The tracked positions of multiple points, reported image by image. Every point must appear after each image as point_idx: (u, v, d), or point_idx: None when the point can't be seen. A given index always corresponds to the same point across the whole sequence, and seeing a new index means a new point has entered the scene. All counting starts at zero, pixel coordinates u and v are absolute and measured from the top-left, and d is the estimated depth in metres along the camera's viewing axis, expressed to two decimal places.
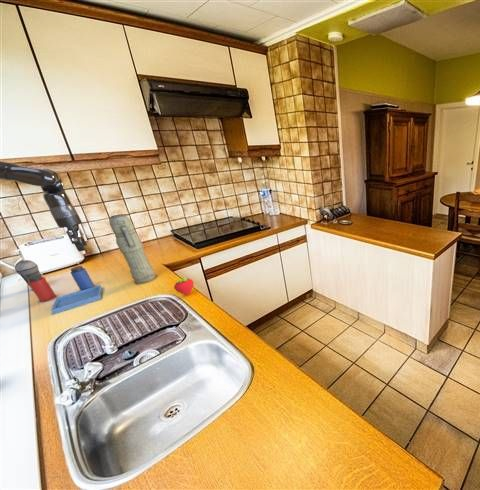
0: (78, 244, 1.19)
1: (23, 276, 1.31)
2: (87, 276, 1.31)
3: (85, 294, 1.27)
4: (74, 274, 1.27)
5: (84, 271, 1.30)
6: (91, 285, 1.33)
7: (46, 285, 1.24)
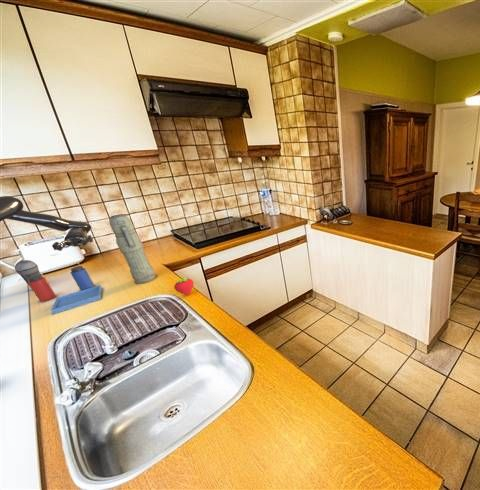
0: (86, 241, 1.38)
1: (23, 276, 1.31)
2: (87, 276, 1.31)
3: (85, 294, 1.27)
4: (74, 274, 1.27)
5: (84, 271, 1.30)
6: (91, 285, 1.33)
7: (46, 285, 1.24)
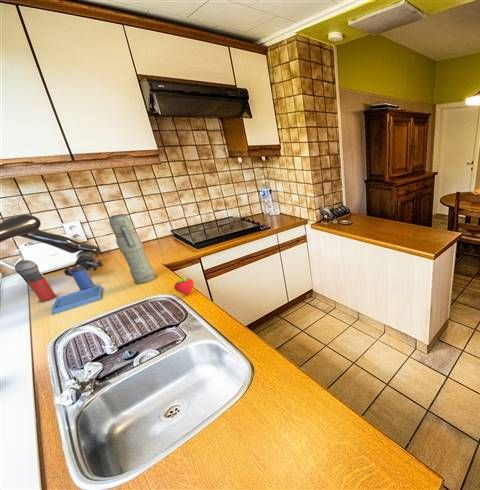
0: (97, 266, 1.41)
1: (23, 276, 1.31)
2: (87, 276, 1.31)
3: (85, 294, 1.27)
4: (74, 274, 1.27)
5: (84, 271, 1.30)
6: (91, 285, 1.33)
7: (46, 285, 1.24)
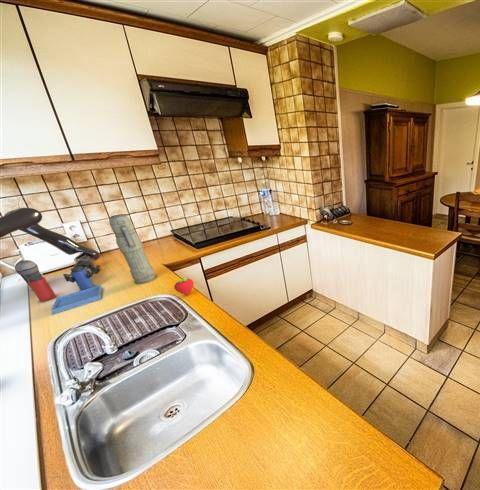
0: (92, 273, 1.33)
1: (23, 276, 1.31)
2: (87, 276, 1.31)
3: (85, 294, 1.27)
4: (74, 274, 1.27)
5: (84, 271, 1.30)
6: (91, 285, 1.33)
7: (46, 285, 1.24)
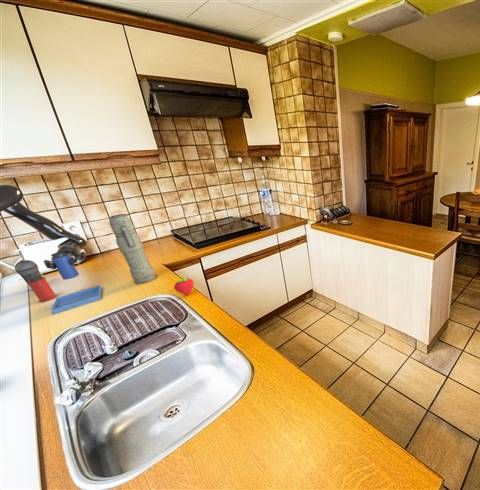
0: (75, 260, 1.23)
1: (23, 276, 1.31)
2: (70, 263, 1.20)
3: (85, 294, 1.27)
4: (55, 260, 1.16)
5: (66, 257, 1.19)
6: (74, 273, 1.22)
7: (46, 285, 1.24)
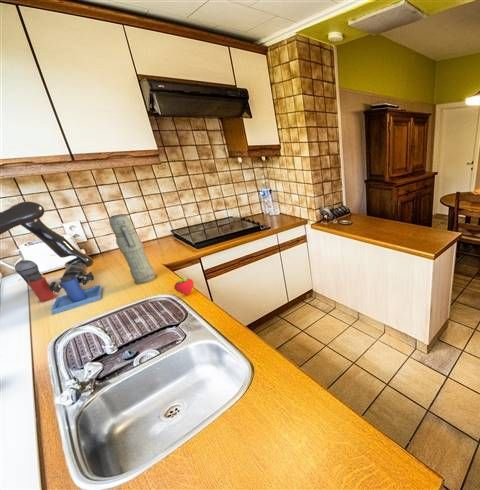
0: (87, 280, 1.25)
1: (23, 276, 1.31)
2: (78, 286, 1.21)
3: None
4: (64, 284, 1.17)
5: (75, 280, 1.20)
6: (83, 295, 1.23)
7: (46, 285, 1.24)
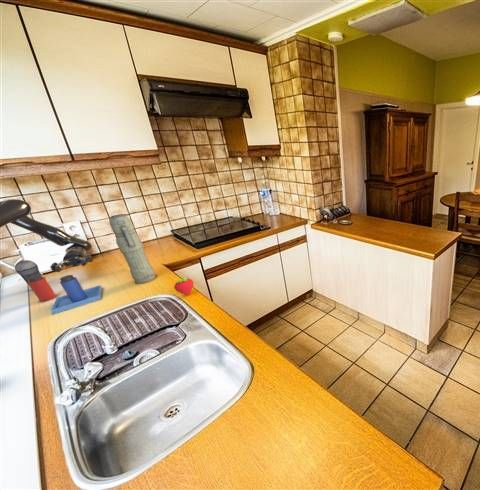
0: (86, 261, 1.34)
1: (23, 276, 1.31)
2: (78, 286, 1.21)
3: None
4: (64, 284, 1.17)
5: (75, 280, 1.20)
6: (83, 295, 1.23)
7: (46, 285, 1.24)
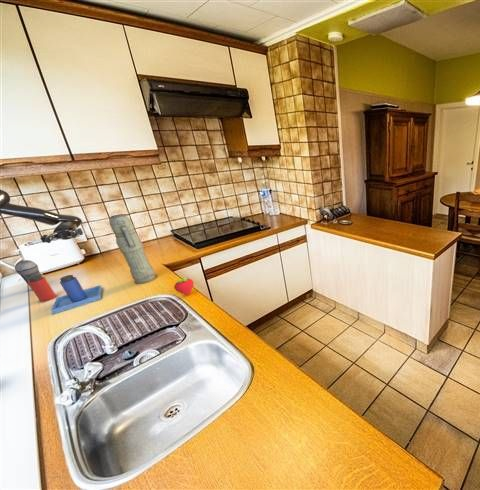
0: (76, 234, 1.36)
1: (23, 276, 1.31)
2: (78, 286, 1.21)
3: None
4: (64, 284, 1.17)
5: (75, 280, 1.20)
6: (83, 295, 1.23)
7: (46, 285, 1.24)
